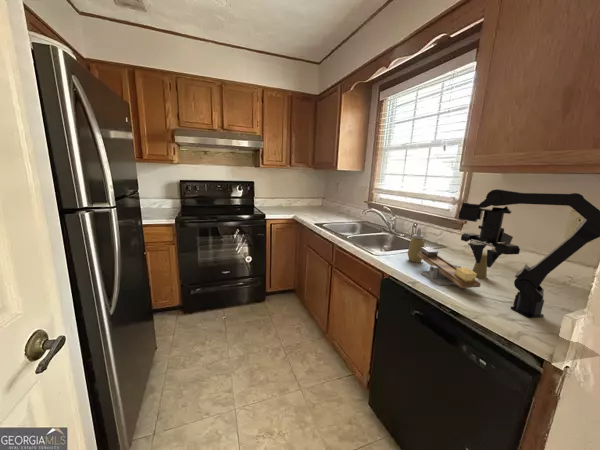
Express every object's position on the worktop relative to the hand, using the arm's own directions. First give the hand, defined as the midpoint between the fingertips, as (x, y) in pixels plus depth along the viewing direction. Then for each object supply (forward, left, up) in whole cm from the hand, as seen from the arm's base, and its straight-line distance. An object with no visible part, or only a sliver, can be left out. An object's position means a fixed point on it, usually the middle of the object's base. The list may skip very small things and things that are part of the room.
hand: (483, 265), depth 94 cm
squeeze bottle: (+40, -2, -13) cm, 42 cm away
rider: (+7, 0, -9) cm, 11 cm away
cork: (+18, -20, -13) cm, 30 cm away
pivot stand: (+17, 0, -13) cm, 21 cm away
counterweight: (+28, 0, -6) cm, 29 cm away
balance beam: (+17, 0, -8) cm, 19 cm away
